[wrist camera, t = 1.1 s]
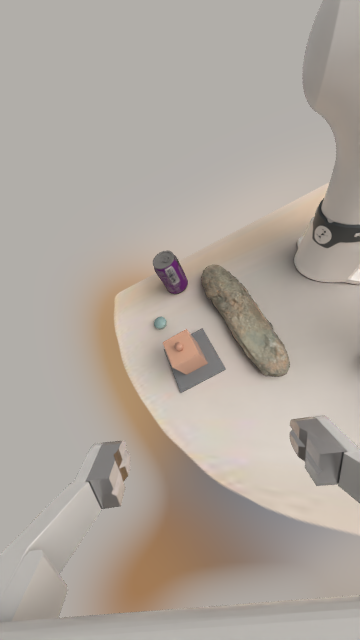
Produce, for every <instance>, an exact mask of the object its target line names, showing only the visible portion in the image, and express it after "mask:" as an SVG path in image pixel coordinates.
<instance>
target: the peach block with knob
mask: <svg viewBox="0 0 360 640" xmlns="http://www.w3.org/2000/svg"><path fill="white" fill-rule="evenodd" d="M163 345H164V347H165V350H166V352H167V355H168V357H169V360H170V363H171V365H172V368H174V369H176V370H178V371H180V372H182V373H184V374H186V375H187V374H189V373H191V372H193V371H195V370H197V369H199V368H200V367H202V366H204V365H206V364H208V362H207V360H206V358H205V356H204V354H203V353H202V351H201V349H200V347H199V345H198V343H197V342H196V340H195V339H194V338H193V337H192V335H191V334H190V333H189V331H188V330H187V329H186V330H184V331H182V332H180V333H179V334H177V335H175V336H173V337H171V338H170V339H168V340H166V341H164V342H163Z"/></svg>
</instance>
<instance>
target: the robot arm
mask: <svg viewBox="0 0 360 640" xmlns="http://www.w3.org/2000/svg"><path fill="white" fill-rule="evenodd" d="M303 89H304V93H305V97H306V99H307V102H308V103H309V105H310V107H311V108H312V109H313V110H314V111H315V112H317V113H318V114H320V115H321V116H322V117H323V118H324V119H325V120H326V121H327V123H328V124H329V125H330V127H331V129H332V131H333V134H334V137H335V142H336V161H335V166H334V169H333V173H332V176H331V180H330V183H329V186H328V189H327V192H326V195H325V197H324V199H323V200H322V201H321V203H320V204H319V207H318V208H317V210H316V213H315V217H313V218H312V219H311V221H310V223H309V225H308V227H307V229H306V231H305V234H304V236H303V237H301V238H299V240H298V242H297V246H298V250H297V252H296V254H295V258H294V263H295V266H296V268H297V269H298V271H299V272H300V273H302V274H303V275H304V276H306V277H308V278H310V279H313V280H316V281H321V282H346V283H351V284H360V0H323V2H322V4H321V6H320V8H319V11H318V13H317V16H316V18H315V21H314V24H313V26H312V29H311V32H310V35H309V39H308V43H307V46H306V51H305V56H304V63H303ZM290 426H291V428H292V431H291V432H290V441H291V444H292V447H293V449H294V451H295V452H296V454H297V456H298V457H299V458H301V459H302V460H304V461H305V468H306V470H307V472H308V473H309V475H310V476H311V478H312V480H313V481H314V483H315V484H316V486H321V485H335V484H339V485H338V486H339V487H341V488H342V489H343V490H344V491H345V492H347V493H348V494H349V495H350V496H351V497H353V498H354V499H355V500H356V501H358V502H359V503H360V449H359V448H358V447H357V446H356V445H355V444H354V443H353V442H352V441H351V440H350V439H349V438H348V437H347V436H346V435H345V434H344V433H343V432H342V431H341V430H340V429H339V428H338V427H337V426H336V425H335V424H334V423H333V422H332V421H331V420H330V419H329V418H328V417H327V416H325V415H324V416H316V417H306V418H299V419H292V420H291V421H290ZM126 446H127V445H126V443H125V441H115V442H105V443H95V444H93V445H92V447H91V448H90V450H89V452H88V454H87V456H86V458H85V460H84V462H83V464H82V466H81V468H80V470H79V472H78V474H77V476H76V478H75V480H74V482H73V483H70V484H69V485H68V486H67V487H66V488H65V489H64V490H63V491H62V492H61V493H60V494H59V495H58V496H57V497H56V498H55V499H54V500H53V501H52V502H51V503H50V504H49V505H48V506H47V507H46V508H45V509H44V510H43V511H42V512H41V513H40V514H39V515H38V516H37V517H36V519H34V521H32V522H31V523H30V524H29V525H28V526H27V527H26V528H25V529H24V530H23V532H21V534H20V535H18V537H17V538H15V539H14V540H13V541H12V543H11V544H10V545H9V546H8V547H7V548H6V549H5V550H4V551H3V552H2V553H1V555H0V640H360V595H356V596H344V597H343V596H342V597H328V598H315V599H303V600H289V601H277V602H262V603H249V604H236V605H223V606H209V607H197V608H183V609H171V610H157V611H143V612H132V613H131V612H130V613H118V614H104V615H90V616H77V617H64V618H59V615H60V612H61V609H62V606H63V603H64V600H65V597H66V594H67V591H68V589H67V584H66V583H65V582H64V580H63V579H62V577H61V576H60V573H61V571H62V570H63V568H64V567H65V565H66V564H67V562H68V561H69V559H70V558H71V556H72V555H73V553H74V552H75V550H76V549H77V547H78V546H79V544H80V543H81V541H82V540H83V538H84V537H85V535H86V534H87V532H88V531H89V529H90V528H91V526H92V524H93V523H94V521H95V520H96V518H97V517H98V516H99V514H100V512H101V511H102V510H101V509H105V508H112V507H119V506H121V503H122V499H123V495H124V491H125V484H124V481H125V479H126V478H127V477H128V475H129V471H130V462H131V460H130V454H129V452H128V451H127V450H125V449H126Z"/></svg>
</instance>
